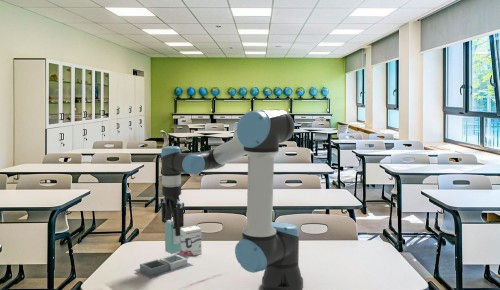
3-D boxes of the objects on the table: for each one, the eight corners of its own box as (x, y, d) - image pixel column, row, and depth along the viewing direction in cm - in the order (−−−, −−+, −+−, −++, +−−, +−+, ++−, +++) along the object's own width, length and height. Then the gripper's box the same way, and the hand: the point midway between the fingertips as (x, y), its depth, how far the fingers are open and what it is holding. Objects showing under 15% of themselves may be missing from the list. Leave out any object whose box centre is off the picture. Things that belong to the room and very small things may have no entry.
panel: (193, 268, 188) (193, 259, 187) (150, 281, 174) (150, 272, 174) (176, 260, 196) (176, 252, 196) (134, 273, 183) (133, 264, 182)
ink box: (184, 257, 200) (183, 231, 198) (179, 254, 204) (178, 228, 202) (202, 254, 204) (201, 228, 203) (196, 250, 208) (196, 225, 207)
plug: (180, 251, 188) (180, 220, 186) (171, 254, 184) (170, 222, 183) (174, 248, 191) (173, 217, 189) (165, 251, 188) (164, 220, 186)
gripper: (192, 186, 181) (193, 244, 183) (167, 180, 194) (168, 235, 196) (176, 189, 176) (177, 249, 178) (151, 183, 188) (153, 239, 191)
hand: (172, 241), depth 187 cm, fingers closed on plug, 4 cm apart
